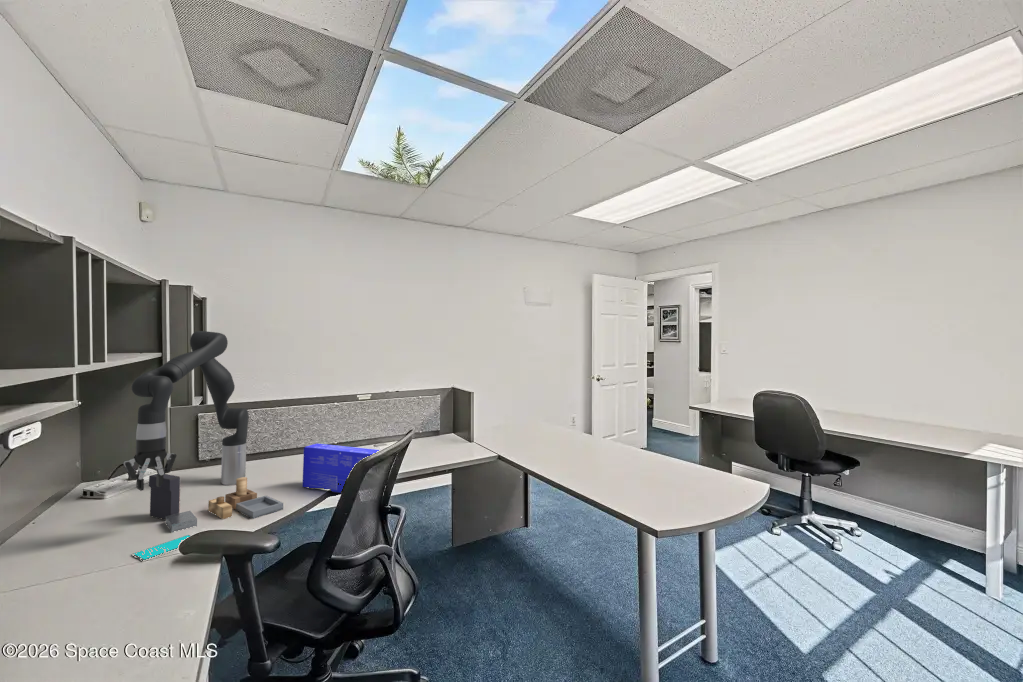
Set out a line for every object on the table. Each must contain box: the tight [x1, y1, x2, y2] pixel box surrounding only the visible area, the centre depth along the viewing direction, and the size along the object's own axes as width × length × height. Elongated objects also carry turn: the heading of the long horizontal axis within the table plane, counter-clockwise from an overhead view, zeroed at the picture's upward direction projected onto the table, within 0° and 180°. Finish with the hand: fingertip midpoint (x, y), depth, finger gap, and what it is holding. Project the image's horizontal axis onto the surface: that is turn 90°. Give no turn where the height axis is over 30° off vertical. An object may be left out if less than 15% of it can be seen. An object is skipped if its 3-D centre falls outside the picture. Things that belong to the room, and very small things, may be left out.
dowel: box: [235, 476, 248, 497], centre depth 168 cm, size 4×4×10 cm
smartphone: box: [132, 534, 191, 562], centre depth 132 cm, size 7×1×15 cm
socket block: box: [224, 488, 258, 510], centre depth 168 cm, size 8×8×4 cm
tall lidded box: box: [148, 473, 181, 520], centre depth 154 cm, size 11×4×15 cm, turn 71°
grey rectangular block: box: [165, 510, 198, 533], centre depth 148 cm, size 10×7×3 cm
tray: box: [235, 495, 284, 520], centre depth 163 cm, size 13×11×2 cm
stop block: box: [207, 496, 233, 520], centre depth 158 cm, size 12×3×6 cm, turn 56°
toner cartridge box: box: [302, 442, 380, 494], centre depth 186 cm, size 39×8×18 cm, turn 73°
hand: (149, 487), depth 141 cm, fingers open, 4 cm apart
